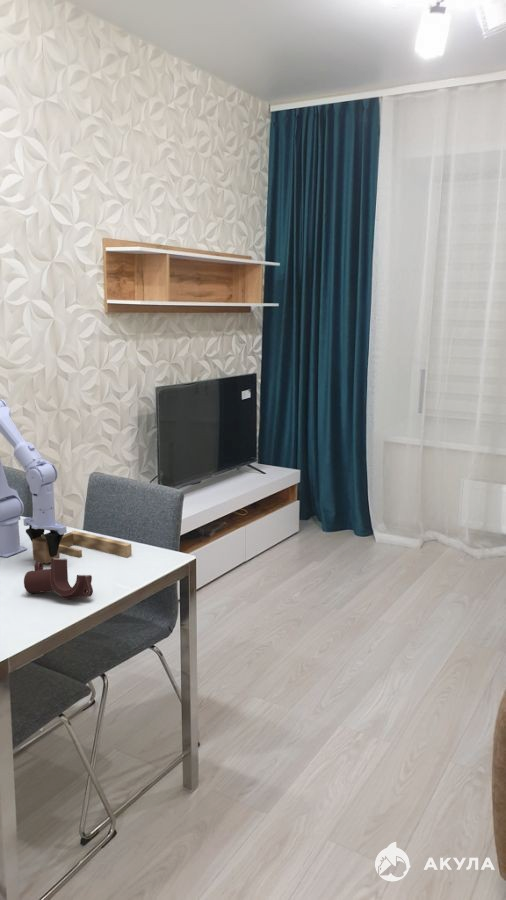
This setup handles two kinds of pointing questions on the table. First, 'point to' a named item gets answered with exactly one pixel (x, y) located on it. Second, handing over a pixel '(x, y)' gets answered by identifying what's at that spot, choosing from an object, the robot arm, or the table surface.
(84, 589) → the bracket
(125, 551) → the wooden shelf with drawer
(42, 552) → the cabinet
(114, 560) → the table surface
